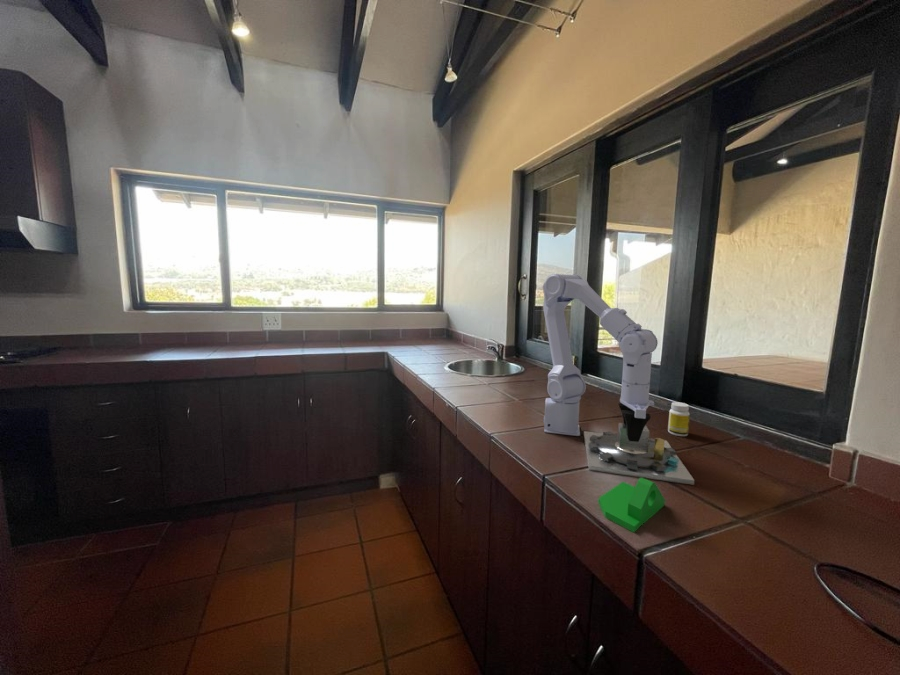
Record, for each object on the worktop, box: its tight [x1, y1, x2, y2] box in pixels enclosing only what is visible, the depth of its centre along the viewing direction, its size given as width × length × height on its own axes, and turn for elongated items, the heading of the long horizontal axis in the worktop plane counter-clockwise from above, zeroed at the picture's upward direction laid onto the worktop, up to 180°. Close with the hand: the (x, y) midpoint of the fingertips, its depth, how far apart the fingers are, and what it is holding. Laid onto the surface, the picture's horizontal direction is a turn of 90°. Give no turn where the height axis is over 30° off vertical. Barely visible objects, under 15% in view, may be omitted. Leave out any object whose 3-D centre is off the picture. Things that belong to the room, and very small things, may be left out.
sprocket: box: [588, 431, 680, 471], centre depth 82 cm, size 19×19×5 cm
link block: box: [617, 422, 651, 452], centre depth 82 cm, size 6×4×5 cm, turn 72°
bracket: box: [598, 477, 666, 533], centre depth 63 cm, size 12×8×7 cm, turn 127°
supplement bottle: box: [667, 401, 691, 437], centre depth 96 cm, size 5×5×8 cm
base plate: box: [583, 431, 696, 486], centre depth 83 cm, size 20×20×1 cm
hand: (631, 437), depth 82 cm, fingers closed on link block, 3 cm apart
